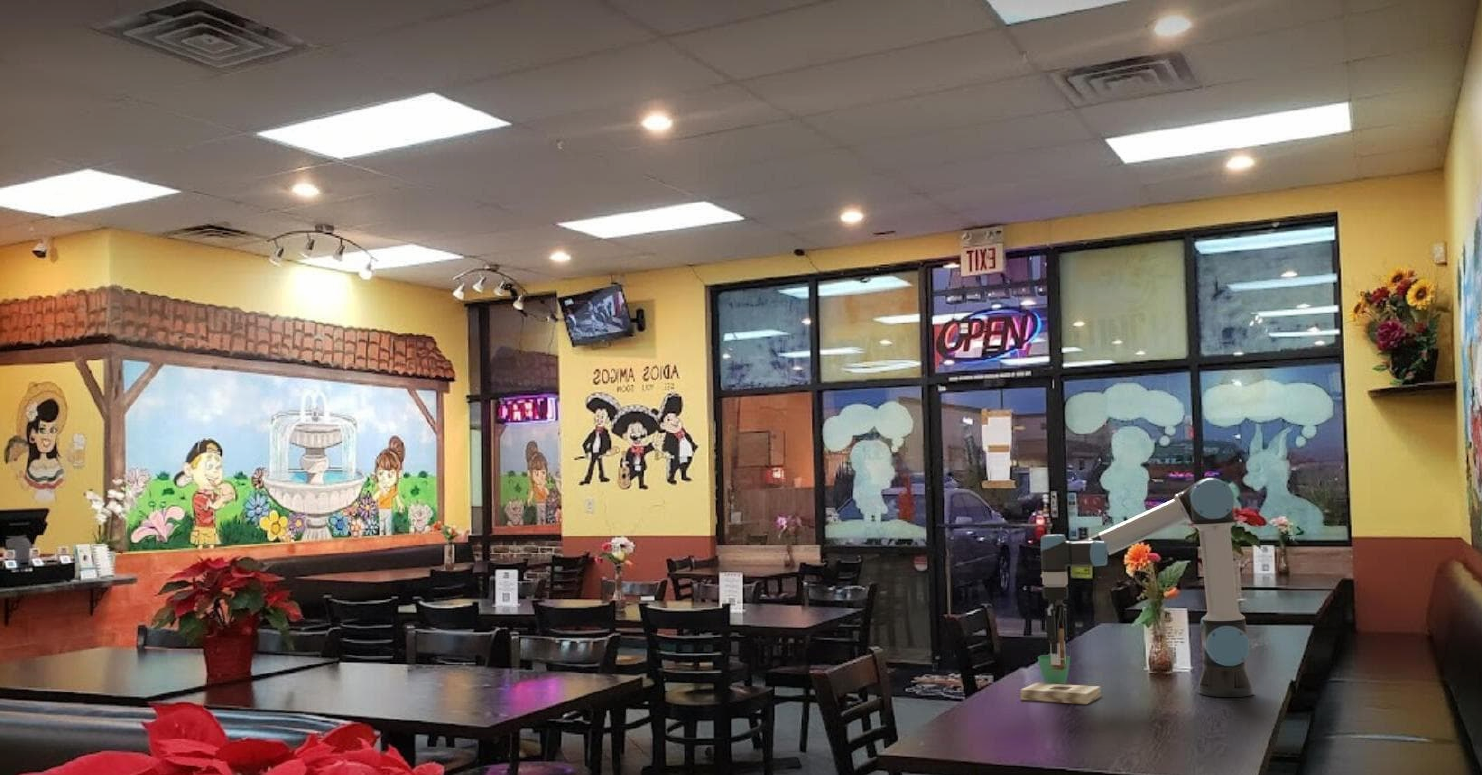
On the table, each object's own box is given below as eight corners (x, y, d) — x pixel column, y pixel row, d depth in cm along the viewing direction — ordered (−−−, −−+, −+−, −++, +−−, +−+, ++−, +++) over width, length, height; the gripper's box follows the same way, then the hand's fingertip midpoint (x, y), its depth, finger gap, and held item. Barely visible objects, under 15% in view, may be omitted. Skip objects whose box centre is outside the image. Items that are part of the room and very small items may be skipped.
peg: (1067, 668, 364) (1065, 628, 365) (1063, 670, 360) (1061, 629, 361) (1054, 667, 366) (1052, 627, 367) (1049, 669, 362) (1047, 629, 363)
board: (1101, 696, 362) (1100, 686, 363) (1087, 704, 351) (1086, 693, 351) (1036, 692, 373) (1036, 682, 374) (1021, 699, 362) (1020, 689, 362)
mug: (1066, 692, 372) (1065, 659, 373) (1035, 690, 377) (1034, 658, 378) (1079, 684, 385) (1077, 653, 386) (1049, 683, 390) (1047, 652, 391)
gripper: (1052, 583, 374) (1055, 659, 372) (1033, 587, 360) (1036, 666, 358) (1076, 583, 370) (1079, 660, 368) (1057, 588, 356) (1061, 668, 354)
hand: (1058, 663), depth 363 cm, fingers closed on peg, 4 cm apart
